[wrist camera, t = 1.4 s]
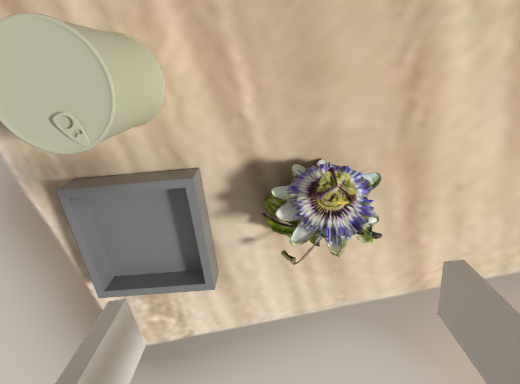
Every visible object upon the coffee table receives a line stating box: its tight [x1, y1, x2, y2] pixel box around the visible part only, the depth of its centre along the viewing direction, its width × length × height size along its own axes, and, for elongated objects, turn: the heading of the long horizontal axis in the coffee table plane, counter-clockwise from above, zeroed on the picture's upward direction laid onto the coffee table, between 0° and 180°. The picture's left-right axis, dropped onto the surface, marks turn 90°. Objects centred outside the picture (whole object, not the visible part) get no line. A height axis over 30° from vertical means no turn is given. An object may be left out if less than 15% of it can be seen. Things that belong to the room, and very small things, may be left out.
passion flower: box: [262, 159, 382, 265], centre depth 32 cm, size 11×11×12 cm
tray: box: [56, 168, 218, 298], centre depth 36 cm, size 15×15×4 cm
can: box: [0, 13, 165, 154], centre depth 25 cm, size 9×9×12 cm
